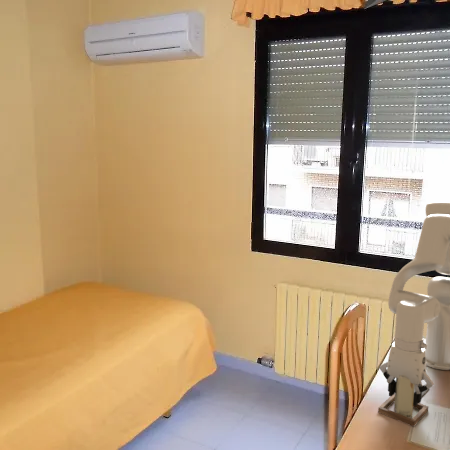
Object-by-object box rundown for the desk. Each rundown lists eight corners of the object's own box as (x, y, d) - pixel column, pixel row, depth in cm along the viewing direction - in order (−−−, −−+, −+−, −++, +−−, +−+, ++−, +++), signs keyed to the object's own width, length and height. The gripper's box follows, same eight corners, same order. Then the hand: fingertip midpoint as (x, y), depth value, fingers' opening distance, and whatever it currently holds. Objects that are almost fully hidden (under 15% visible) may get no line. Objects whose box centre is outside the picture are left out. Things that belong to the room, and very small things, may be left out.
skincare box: (412, 418, 138) (415, 380, 136) (396, 417, 139) (399, 378, 137) (408, 406, 145) (411, 369, 142) (393, 404, 145) (396, 367, 143)
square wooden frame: (393, 397, 149) (393, 393, 149) (427, 410, 142) (428, 406, 142) (378, 412, 142) (378, 407, 141) (413, 426, 135) (414, 422, 134)
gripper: (443, 347, 135) (438, 405, 138) (385, 330, 146) (381, 383, 150) (434, 356, 129) (428, 416, 133) (374, 338, 141) (370, 393, 144)
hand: (404, 398), depth 141 cm, fingers closed on skincare box, 6 cm apart
